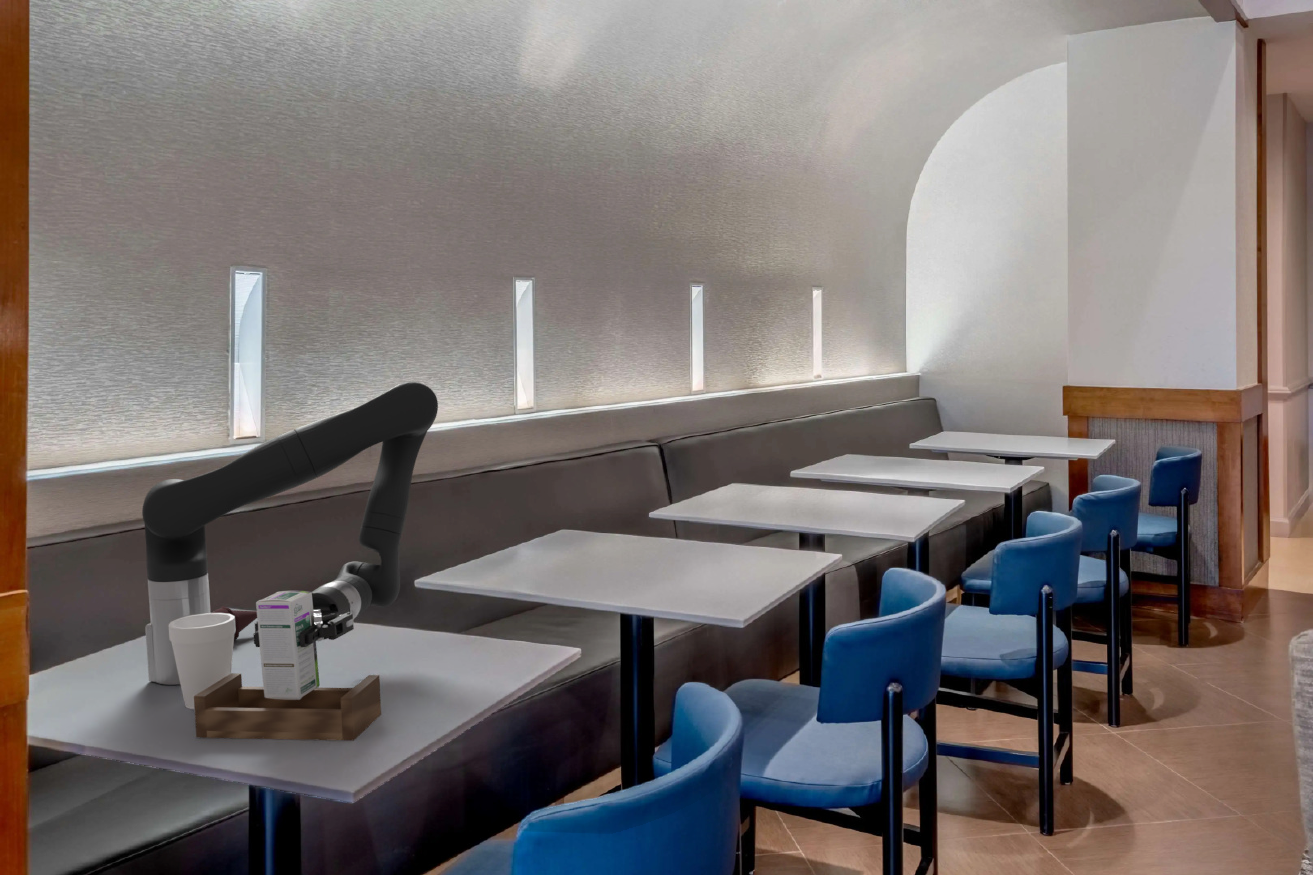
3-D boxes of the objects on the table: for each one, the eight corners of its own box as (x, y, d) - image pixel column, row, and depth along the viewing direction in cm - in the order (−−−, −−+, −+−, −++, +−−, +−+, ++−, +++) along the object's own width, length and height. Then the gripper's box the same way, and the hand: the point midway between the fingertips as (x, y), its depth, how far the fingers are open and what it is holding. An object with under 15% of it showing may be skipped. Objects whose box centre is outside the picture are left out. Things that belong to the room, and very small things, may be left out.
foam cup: (195, 716, 160) (190, 631, 158) (162, 705, 165) (156, 623, 164) (252, 698, 167) (247, 617, 166) (218, 688, 173) (213, 610, 171)
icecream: (246, 597, 209) (173, 620, 197) (266, 592, 204) (193, 616, 193) (256, 631, 209) (184, 657, 197) (276, 627, 204) (203, 653, 193)
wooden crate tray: (196, 737, 151) (193, 696, 150) (233, 711, 161) (231, 673, 161) (353, 740, 148) (351, 698, 148) (381, 714, 159) (379, 675, 158)
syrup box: (300, 700, 151) (293, 600, 150) (262, 698, 152) (255, 599, 151) (320, 686, 157) (313, 590, 155) (283, 685, 158) (276, 589, 156)
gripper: (283, 586, 168) (229, 614, 152) (371, 585, 167) (326, 614, 150) (287, 632, 169) (233, 666, 152) (374, 632, 167) (330, 666, 151)
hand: (280, 640), depth 151 cm, fingers closed on syrup box, 6 cm apart
